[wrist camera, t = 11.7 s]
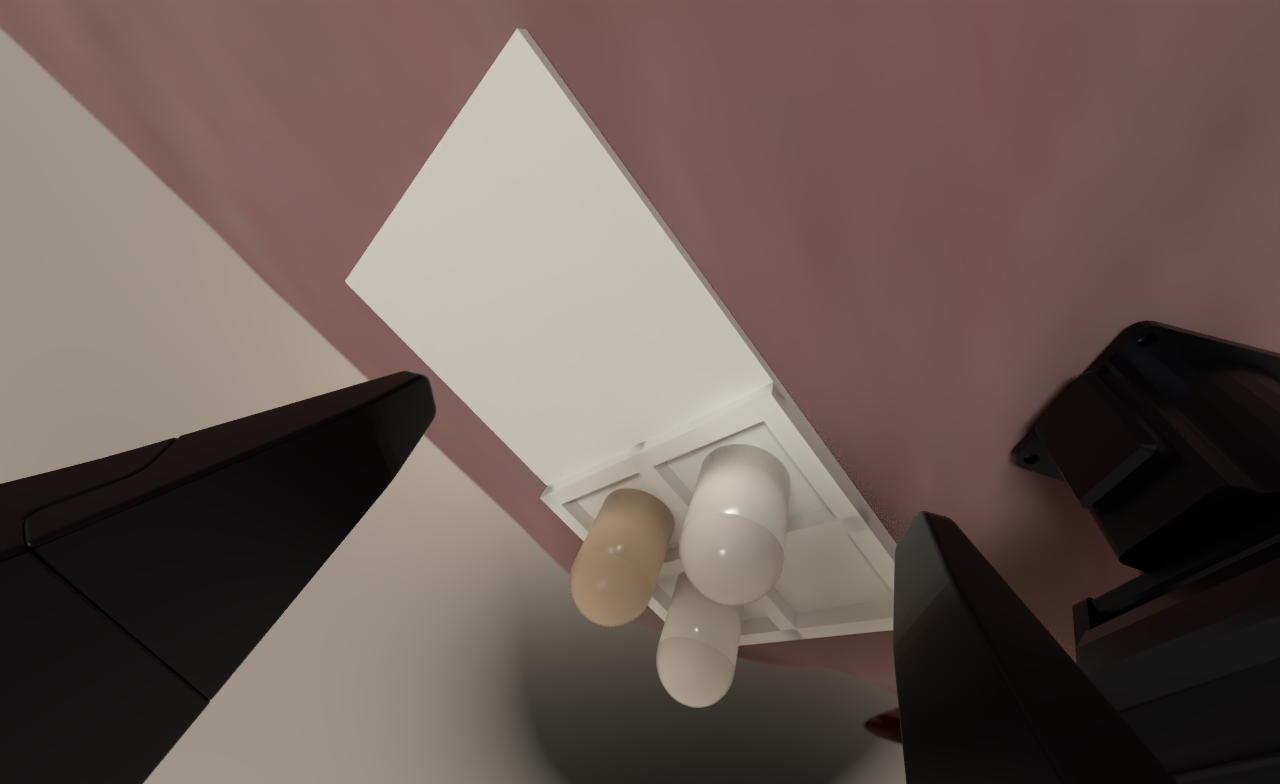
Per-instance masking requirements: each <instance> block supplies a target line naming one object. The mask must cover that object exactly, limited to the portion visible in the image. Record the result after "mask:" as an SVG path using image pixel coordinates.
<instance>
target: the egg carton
mask: <svg viewBox="0 0 1280 784" xmlns="http://www.w3.org/2000/svg"><path fill="white" fill-rule="evenodd" d="M345 282H346V283H347V284H348V285H349V286H350V287H351V288H352V289H353V290H354V291H355V292H356V293H357V294H358V295H359V296H360V297H361V298H362V299H363V300H364V301H365V302H366V303H367V304H368V305H369V306H370V307H371V308H372V309H373V310H374V311H375V312H376V314H377V315H378V316H379V317H380V318H381V319H382V320H383V321H384V322H385V323H386V324H387V325H388V326H389V327H390V328H391V329H392V330H393V331H394V332H395V333H396V334H397V335H398V336H399V337H400V338H401V339H402V340H403V341H404V342H405V343H406V344H407V345H408V346H409V347H410V348H411V349H412V350H413V351H414V352H415V353H416V354H417V355H418V356H419V357H420V358H421V359H422V360H423V361H424V362H425V363H426V364H427V365H428V366H429V367H430V368H431V369H432V370H433V371H434V372H435V373H436V374H437V375H438V376H439V377H440V378H441V379H442V380H443V381H444V382H445V383H446V384H447V385H448V386H449V387H450V388H451V389H452V390H453V391H454V392H455V393H456V394H457V395H458V396H459V397H460V398H461V399H462V400H463V401H464V402H465V403H466V404H467V405H468V406H469V407H470V408H471V409H472V410H473V411H474V413H475V414H476V415H477V416H478V417H479V418H480V419H481V420H482V421H483V422H484V423H485V424H486V425H487V426H488V427H489V428H490V429H491V430H492V431H493V432H494V433H495V434H496V435H497V436H498V437H499V438H500V439H501V440H502V441H503V442H504V443H505V444H506V445H507V446H508V447H509V448H510V449H511V450H512V451H513V452H514V453H515V454H516V455H517V456H518V457H519V458H520V459H521V460H522V461H523V462H524V463H525V464H526V465H527V466H528V467H529V468H530V469H531V470H532V471H533V472H534V473H535V474H536V475H537V476H538V477H539V478H540V479H541V480H542V481H543V482H544V483H545V484H546V485H547V487H546V489H545V490H544V492H543V493H542V495H541V496H540V499H541V500H542V501H543V502H544V503H545V504H546V505H547V506H548V507H549V508H550V509H551V510H552V511H553V512H554V513H555V514H556V515H557V516H558V517H559V518H560V519H561V520H563V521H564V522H565V523H566V524H567V525H568V526H569V527H570V528H571V529H572V530H573V531H574V532H575V533H576V534H577V535H578V536H579V537H580V538H581V539H582V540H583V541H585V539H586V537H587V535H588V533H589V531H590V529H591V527H592V525H593V523H594V521H595V519H596V517H597V515H598V513H599V511H600V509H601V507H602V505H603V503H604V501H605V499H606V497H607V496H608V495H609V494H610V493H611V492H613V491H615V490H618V489H624V488H631V489H637V490H641V491H644V492H647V493H649V494H651V495H653V496H655V497H656V498H658V499H659V500H661V501H662V502H663V503H664V504H665V505H666V506H667V507H668V508H669V510H670V511H671V513H672V515H673V517H674V522H675V526H674V530H673V533H672V536H671V539H670V542H669V545H668V548H667V551H666V555H665V558H664V561H663V564H662V567H661V570H660V573H659V576H658V579H657V582H656V586H655V589H654V592H653V595H652V597H651V600H650V602H649V604H648V606H649V607H650V608H651V609H652V610H653V611H654V612H655V613H656V614H657V615H658V616H659V617H660V618H661V619H662V620H663V621H664V622H665V620H666V616H667V613H668V609H669V606H670V602H671V599H672V595H673V592H674V588H675V585H676V581H677V578H678V576H679V575H680V574H681V573H682V572H684V569H683V566H682V563H681V559H680V552H679V545H680V537H681V532H682V529H683V525H684V522H685V519H686V516H687V512H688V509H689V506H690V502H691V499H692V496H693V492H694V489H695V486H696V482H697V479H698V476H699V473H700V469H701V466H702V463H703V461H704V459H705V457H706V456H707V455H708V454H709V453H710V452H712V451H713V450H715V449H717V448H719V447H721V446H725V445H730V444H747V445H752V446H756V447H759V448H761V449H764V450H766V451H768V452H770V453H771V454H773V455H774V456H775V457H777V458H778V459H779V460H780V461H781V462H782V463H783V465H784V466H785V467H786V469H787V471H788V473H789V477H790V492H789V505H788V518H787V531H786V544H785V557H784V565H783V569H782V572H781V575H780V577H779V579H778V581H777V583H776V584H775V586H774V587H773V588H772V589H771V591H770V592H768V593H767V594H766V595H765V596H764V597H762V598H761V599H759V600H757V601H755V602H752V603H749V604H745V605H744V611H743V618H742V625H741V632H740V639H739V645H738V646H741V645H751V644H761V643H770V642H780V641H790V640H800V639H810V638H820V637H829V636H839V635H849V634H859V633H869V632H879V631H889V630H893V610H894V562H895V549H896V546H897V544H896V542H895V541H894V540H893V538H892V537H891V535H890V534H889V533H888V531H887V530H886V529H885V527H884V526H883V524H882V523H881V522H880V520H879V519H878V517H877V516H876V515H875V513H874V512H873V510H872V509H871V508H870V506H869V505H868V504H867V502H866V501H865V499H864V498H863V497H862V495H861V494H860V492H859V491H858V490H857V488H856V487H855V485H854V484H853V483H852V481H851V480H850V479H849V477H848V476H847V474H846V473H845V472H844V470H843V469H842V467H841V466H840V465H839V463H838V462H837V460H836V459H835V458H834V456H833V455H832V454H831V452H830V451H829V449H828V448H827V447H826V445H825V444H824V442H823V441H822V440H821V438H820V437H819V435H818V434H817V433H816V431H815V430H814V429H813V427H812V426H811V424H810V423H809V422H808V420H807V419H806V417H805V416H804V415H803V413H802V412H801V410H800V409H799V408H798V406H797V405H796V404H795V402H794V401H793V399H792V398H791V397H790V395H789V394H788V392H787V391H786V390H785V388H784V387H783V385H782V384H781V383H780V381H779V380H778V379H777V377H776V376H775V374H774V373H773V372H772V370H771V369H770V367H769V366H768V365H767V363H766V362H765V360H764V359H763V358H762V356H761V355H760V354H759V352H758V351H757V349H756V348H755V347H754V345H753V344H752V342H751V341H750V340H749V338H748V337H747V335H746V334H745V333H744V331H743V330H742V328H741V327H740V326H739V324H738V323H737V322H736V320H735V319H734V317H733V316H732V315H731V313H730V312H729V310H728V309H727V308H726V306H725V305H724V303H723V302H722V301H721V299H720V298H719V297H718V295H717V294H716V292H715V291H714V290H713V288H712V287H711V285H710V284H709V283H708V281H707V280H706V278H705V277H704V276H703V274H702V273H701V272H700V270H699V269H698V267H697V266H696V265H695V263H694V262H693V260H692V259H691V258H690V256H689V255H688V253H687V252H686V251H685V249H684V248H683V247H682V245H681V244H680V242H679V241H678V240H677V238H676V237H675V235H674V234H673V233H672V231H671V230H670V228H669V227H668V226H667V224H666V223H665V222H664V220H663V219H662V217H661V216H660V215H659V213H658V212H657V210H656V209H655V208H654V206H653V205H652V203H651V202H650V201H649V199H648V198H647V197H646V195H645V194H644V192H643V191H642V190H641V188H640V187H639V185H638V184H637V183H636V181H635V180H634V178H633V177H632V176H631V174H630V173H629V172H628V170H627V169H626V167H625V166H624V165H623V163H622V162H621V160H620V159H619V158H618V156H617V155H616V153H615V152H614V151H613V149H612V148H611V147H610V145H609V144H608V142H607V141H606V140H605V138H604V137H603V135H602V134H601V133H600V131H599V130H598V128H597V127H596V126H595V124H594V123H593V122H592V120H591V119H590V117H589V116H588V115H587V113H586V112H585V110H584V109H583V108H582V106H581V105H580V103H579V102H578V101H577V99H576V98H575V97H574V95H573V94H572V92H571V91H570V90H569V88H568V87H567V85H566V84H565V83H564V81H563V80H562V78H561V77H560V76H559V74H558V73H557V72H556V70H555V69H554V67H553V66H552V65H551V63H550V62H549V60H548V59H547V58H546V56H545V55H544V53H543V52H542V51H541V49H540V48H539V47H538V45H537V44H536V42H535V41H534V40H533V38H532V37H531V35H530V34H529V33H528V31H527V30H526V29H518V28H517V29H516V31H515V32H514V34H513V35H512V37H511V38H510V40H509V41H508V43H507V44H506V46H505V47H504V49H503V50H502V52H501V53H500V54H499V56H498V57H497V59H496V60H495V62H494V63H493V65H492V66H491V68H490V69H489V71H488V72H487V74H486V75H485V76H484V78H483V79H482V81H481V82H480V84H479V85H478V87H477V88H476V90H475V91H474V93H473V94H472V96H471V97H470V98H469V100H468V101H467V103H466V104H465V106H464V107H463V109H462V110H461V112H460V113H459V115H458V116H457V118H456V119H455V121H454V122H453V123H452V125H451V126H450V128H449V129H448V131H447V132H446V134H445V135H444V137H443V138H442V140H441V141H440V143H439V144H438V145H437V147H436V148H435V150H434V151H433V153H432V154H431V156H430V157H429V159H428V160H427V162H426V163H425V165H424V166H423V168H422V169H421V170H420V172H419V173H418V175H417V176H416V178H415V179H414V181H413V182H412V184H411V185H410V187H409V188H408V190H407V191H406V192H405V194H404V195H403V197H402V198H401V200H400V201H399V203H398V204H397V206H396V207H395V209H394V210H393V212H392V213H391V214H390V216H389V217H388V219H387V220H386V222H385V223H384V225H383V226H382V228H381V229H380V231H379V232H378V234H377V235H376V237H375V238H374V239H373V241H372V242H371V244H370V245H369V247H368V248H367V250H366V251H365V253H364V254H363V256H362V257H361V259H360V260H359V261H358V263H357V264H356V266H355V267H354V269H353V270H352V272H351V273H350V275H349V276H348V278H347V279H346V281H345Z"/></svg>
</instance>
